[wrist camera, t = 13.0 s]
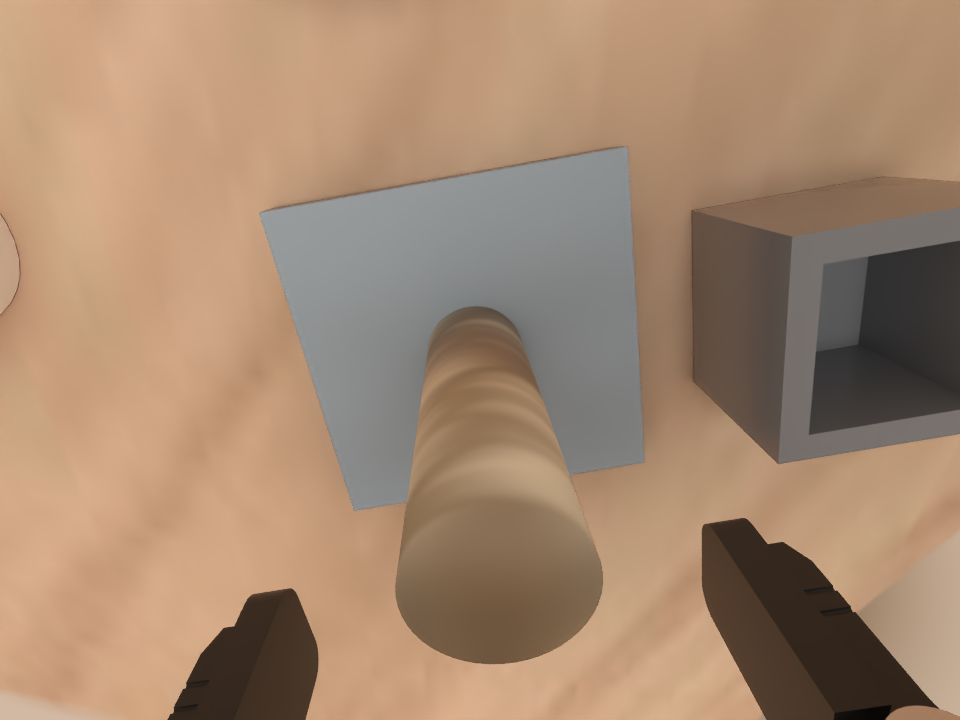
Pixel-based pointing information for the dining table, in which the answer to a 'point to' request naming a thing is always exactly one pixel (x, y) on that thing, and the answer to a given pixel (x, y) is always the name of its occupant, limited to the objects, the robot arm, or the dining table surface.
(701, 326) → the grey open box
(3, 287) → the cylindrical container
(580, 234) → the board
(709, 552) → the robot arm
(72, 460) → the dining table surface
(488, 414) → the dowel
